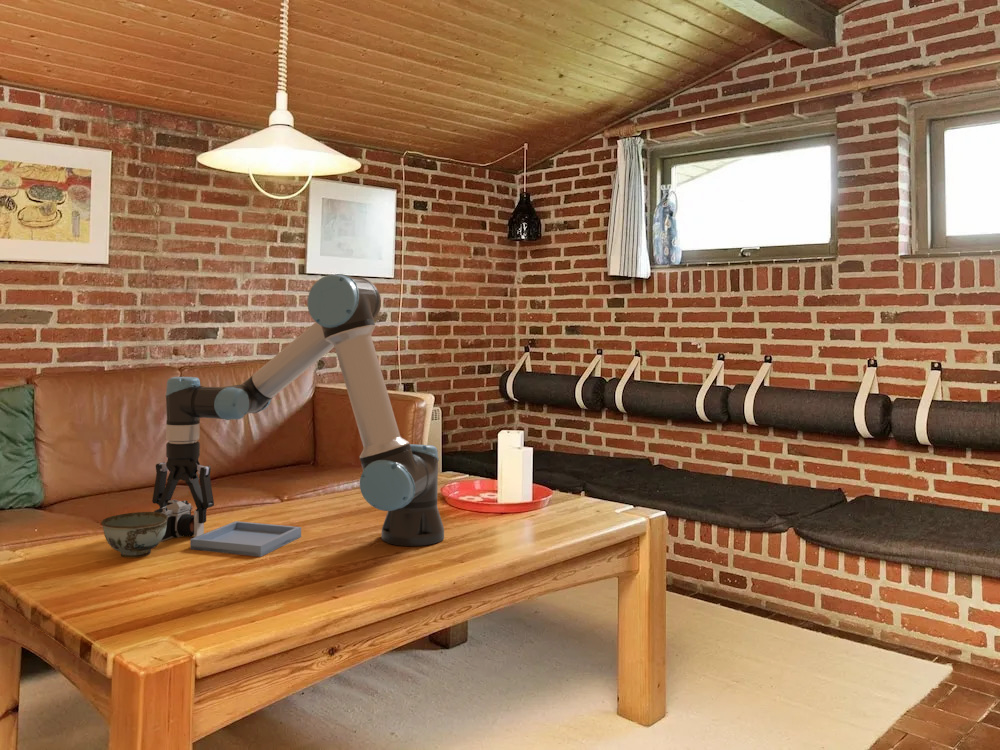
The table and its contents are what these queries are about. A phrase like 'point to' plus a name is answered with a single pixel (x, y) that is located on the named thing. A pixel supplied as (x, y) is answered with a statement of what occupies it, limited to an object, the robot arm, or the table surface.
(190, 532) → the camera
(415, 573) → the table surface
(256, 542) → the tray
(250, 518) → the table surface
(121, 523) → the bowl
